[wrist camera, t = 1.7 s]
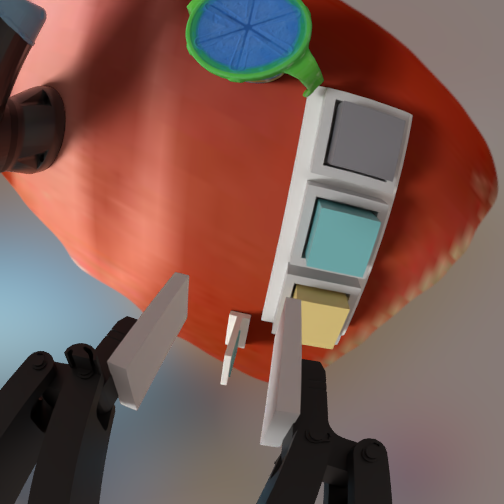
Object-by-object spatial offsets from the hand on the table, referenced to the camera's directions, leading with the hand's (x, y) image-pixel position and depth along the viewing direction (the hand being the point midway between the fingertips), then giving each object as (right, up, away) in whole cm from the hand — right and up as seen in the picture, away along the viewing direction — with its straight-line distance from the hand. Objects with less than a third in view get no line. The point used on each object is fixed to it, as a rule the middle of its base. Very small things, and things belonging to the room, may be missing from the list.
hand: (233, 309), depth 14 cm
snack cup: (+2, +25, +12) cm, 28 cm away
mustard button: (+9, -4, +19) cm, 21 cm away
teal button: (+10, +5, +15) cm, 19 cm away
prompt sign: (-1, -9, +27) cm, 28 cm away
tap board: (+11, +7, +18) cm, 22 cm away
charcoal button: (+12, +14, +11) cm, 21 cm away
